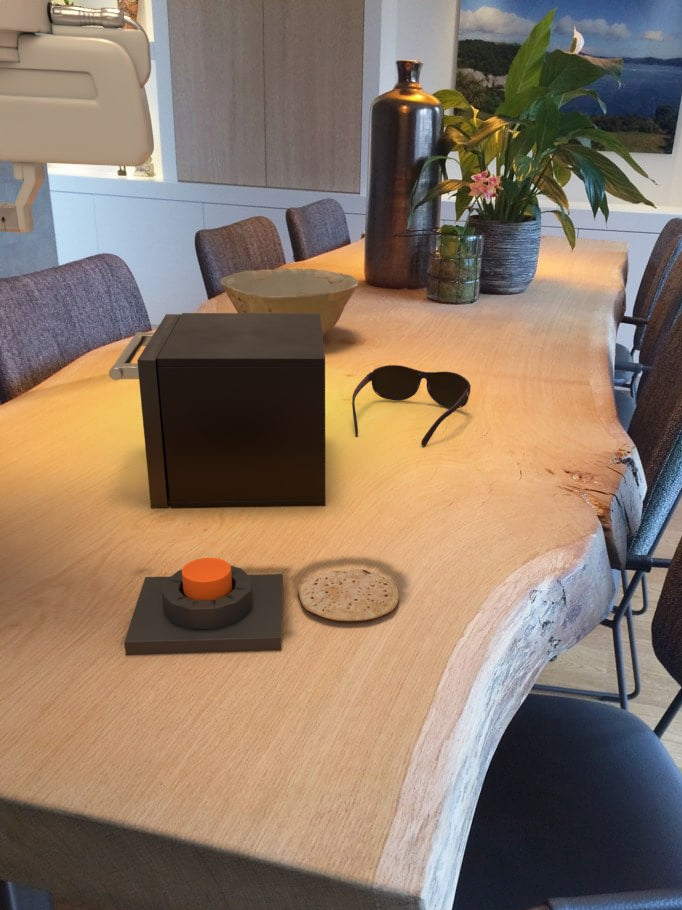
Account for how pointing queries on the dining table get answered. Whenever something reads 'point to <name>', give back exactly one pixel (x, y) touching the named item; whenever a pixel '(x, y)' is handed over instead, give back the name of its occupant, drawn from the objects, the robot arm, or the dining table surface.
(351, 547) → the dining table surface
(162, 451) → the oven door
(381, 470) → the dining table surface
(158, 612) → the block
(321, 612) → the flatbread
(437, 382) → the sunglasses
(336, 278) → the ceramic bowl
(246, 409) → the mini oven
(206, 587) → the button
